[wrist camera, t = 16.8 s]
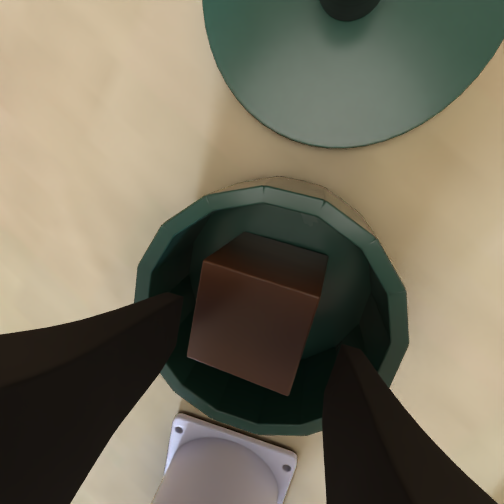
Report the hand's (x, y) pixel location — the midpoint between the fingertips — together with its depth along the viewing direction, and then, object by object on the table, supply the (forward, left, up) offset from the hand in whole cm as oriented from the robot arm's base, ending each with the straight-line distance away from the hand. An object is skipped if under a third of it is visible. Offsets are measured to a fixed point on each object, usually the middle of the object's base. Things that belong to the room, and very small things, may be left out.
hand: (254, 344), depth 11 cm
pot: (0, 0, -6) cm, 6 cm away
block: (0, 0, -5) cm, 5 cm away
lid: (+12, 0, -5) cm, 13 cm away
